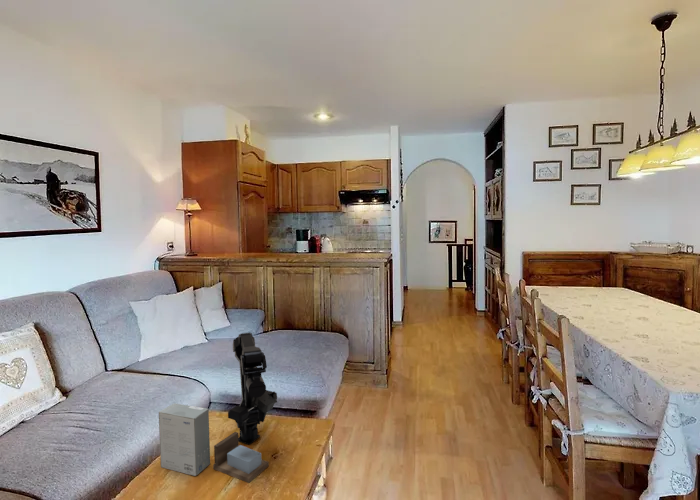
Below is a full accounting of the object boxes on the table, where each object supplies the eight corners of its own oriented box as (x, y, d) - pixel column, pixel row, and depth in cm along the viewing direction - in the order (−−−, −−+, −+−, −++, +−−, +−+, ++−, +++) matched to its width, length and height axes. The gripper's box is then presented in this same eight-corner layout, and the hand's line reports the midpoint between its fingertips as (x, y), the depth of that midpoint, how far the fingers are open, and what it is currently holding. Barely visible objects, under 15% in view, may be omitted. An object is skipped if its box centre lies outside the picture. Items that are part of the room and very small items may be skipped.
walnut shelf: (213, 468, 133) (212, 445, 133) (234, 453, 142) (233, 431, 142) (249, 482, 126) (248, 457, 126) (268, 465, 135) (268, 442, 135)
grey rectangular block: (227, 464, 133) (227, 453, 133) (240, 455, 139) (240, 444, 138) (248, 473, 128) (248, 462, 128) (261, 464, 134) (261, 453, 133)
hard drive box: (211, 463, 136) (209, 408, 135) (196, 477, 129) (194, 419, 128) (176, 455, 141) (174, 402, 140) (159, 467, 134) (157, 411, 133)
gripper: (251, 401, 125) (252, 447, 126) (287, 380, 141) (287, 421, 142) (226, 393, 130) (227, 438, 131) (263, 374, 146) (264, 414, 148)
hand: (253, 427), depth 138 cm, fingers open, 9 cm apart
